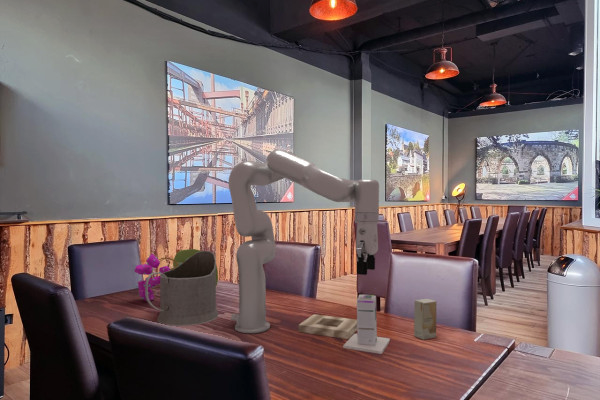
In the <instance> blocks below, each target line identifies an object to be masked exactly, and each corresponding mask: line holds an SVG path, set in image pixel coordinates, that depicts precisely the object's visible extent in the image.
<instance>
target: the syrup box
mask: <svg viewBox="0 0 600 400" xmlns="http://www.w3.org/2000/svg"><path fill="white" fill-rule="evenodd" d="M356 320H357V330H356V332H357V333H356V334H357V340H358V344H363V345H376V341H377V337H378V331H377V327H378V326H377V322H378V321H377V296H376V295H374V294H358V296H357V298H356Z"/></svg>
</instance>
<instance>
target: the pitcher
mask: <svg viewBox="0 0 600 400" xmlns="http://www.w3.org/2000/svg"><path fill="white" fill-rule="evenodd" d="M200 251H201V252H197V253H196V254H194V255H193V256H191V257H190V258H188V259H187V260H186V261H185V262H183V263H182V264H181V265H179V266H178V267H176V268H175V269H173V270H170V271H167V272H164V273H159V271H158V272H157V271H155V272H154V271H153V272H152V273H151V274H150V275H147V277H148V278H147V277H146V278H147V280H146V284H145V294H146V299H147V301H146V302H147V303H148V304H149V306H151V307H152V308H153V309H155V310H158V311H159V314H158V316H157V322H158V323H160V324H161V323H162V325H165V324H167V325H166V326H171V325H172V326H173V327H186V326H187V327H189V326H196V325H201V324H205V323H206V324H207V323H209V322H211V321H214V320H216V319H217V318H218V317H219V315H220V314H219V311H218V310H217V286H216V265H217V262H216V261H217V260H216V256H215V253H213V252H212V251H210V250H200ZM153 275H160V284H159V285H160V286H159V287H160V288H159V289H160V290H159V291H160V299H159V301H160V302H159V303H160V306H159V307H160V308H159V307H156V306H155V305H154V304H153V303H152V302H151V301H150V300H149V297H148V281H149V279H150V278H152V276H153Z"/></svg>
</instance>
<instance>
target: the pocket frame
mask: <svg viewBox="0 0 600 400" xmlns="http://www.w3.org/2000/svg"><path fill="white" fill-rule="evenodd" d="M356 332H357V318H354V319H353V318H347V317H339V316H338V317H337V316H333V315H332V316H330V315H322V314H315V313H314V314H312V315H311V316H309V317H307V319H305V320H303V321H302V322H301V323H299V324H298V333H303V334H304V333H305V334H311V335H319V336H324V337H331V338H337V339H342V340H349V339H350V338H351V337H352V336H353V335H354V334H356Z"/></svg>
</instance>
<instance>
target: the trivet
mask: <svg viewBox="0 0 600 400" xmlns="http://www.w3.org/2000/svg"><path fill="white" fill-rule="evenodd" d="M390 342H391V338H389V337H382V336H381V337H380V336H377V341H376V345H363V344H358V340H357V333H354V334H353V335H352V336H351V337H350V338H349V339H347V341H346V342H345V343H344V344H343V345H342V347H343V349H348V350H354V351H360V352H365V353H373V354H379V355H382V354H383V352H385V350H386V348H387V346H389V343H390Z"/></svg>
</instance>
